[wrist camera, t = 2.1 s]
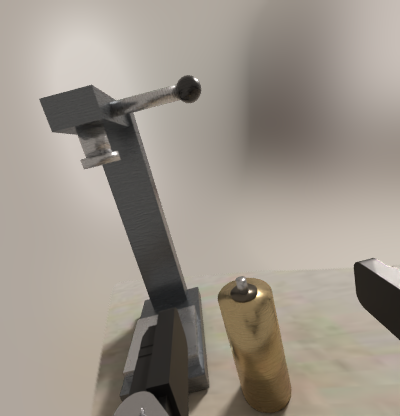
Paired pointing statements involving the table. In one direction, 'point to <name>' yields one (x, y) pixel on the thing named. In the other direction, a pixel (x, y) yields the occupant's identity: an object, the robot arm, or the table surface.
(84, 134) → the press
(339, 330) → the table surface
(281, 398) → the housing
